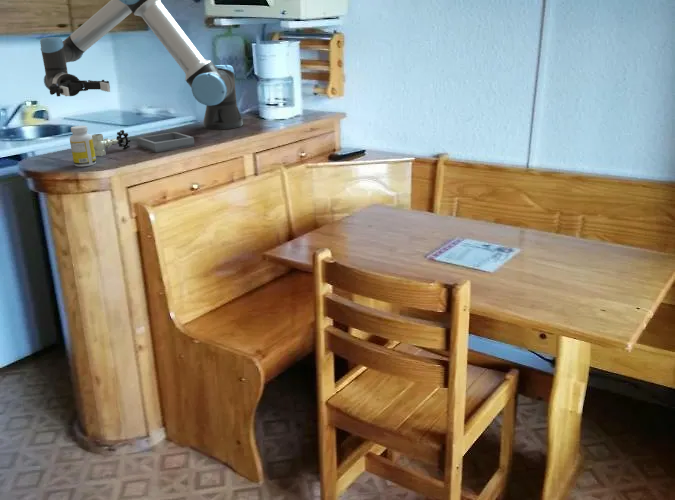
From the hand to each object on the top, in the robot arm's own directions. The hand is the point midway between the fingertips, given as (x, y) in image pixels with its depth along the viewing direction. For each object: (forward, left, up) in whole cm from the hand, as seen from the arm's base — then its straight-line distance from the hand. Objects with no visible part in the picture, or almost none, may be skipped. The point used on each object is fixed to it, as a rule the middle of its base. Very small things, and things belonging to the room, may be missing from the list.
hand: (88, 89), depth 218 cm
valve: (0, +10, -20) cm, 22 cm away
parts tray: (-18, +15, -20) cm, 31 cm away
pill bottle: (+12, +22, -20) cm, 32 cm away
